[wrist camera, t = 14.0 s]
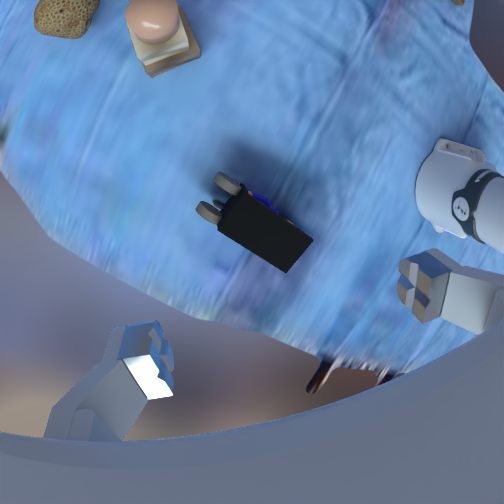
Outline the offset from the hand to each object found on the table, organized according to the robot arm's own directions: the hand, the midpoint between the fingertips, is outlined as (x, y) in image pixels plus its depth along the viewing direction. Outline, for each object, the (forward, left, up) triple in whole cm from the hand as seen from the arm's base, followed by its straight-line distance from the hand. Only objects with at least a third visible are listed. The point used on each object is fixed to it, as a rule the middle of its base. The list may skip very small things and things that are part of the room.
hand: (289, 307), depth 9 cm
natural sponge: (+16, -28, -34) cm, 47 cm away
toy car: (-3, +9, -34) cm, 36 cm away
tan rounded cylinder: (+4, -18, -24) cm, 31 cm away
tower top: (+4, -18, -29) cm, 35 cm away
